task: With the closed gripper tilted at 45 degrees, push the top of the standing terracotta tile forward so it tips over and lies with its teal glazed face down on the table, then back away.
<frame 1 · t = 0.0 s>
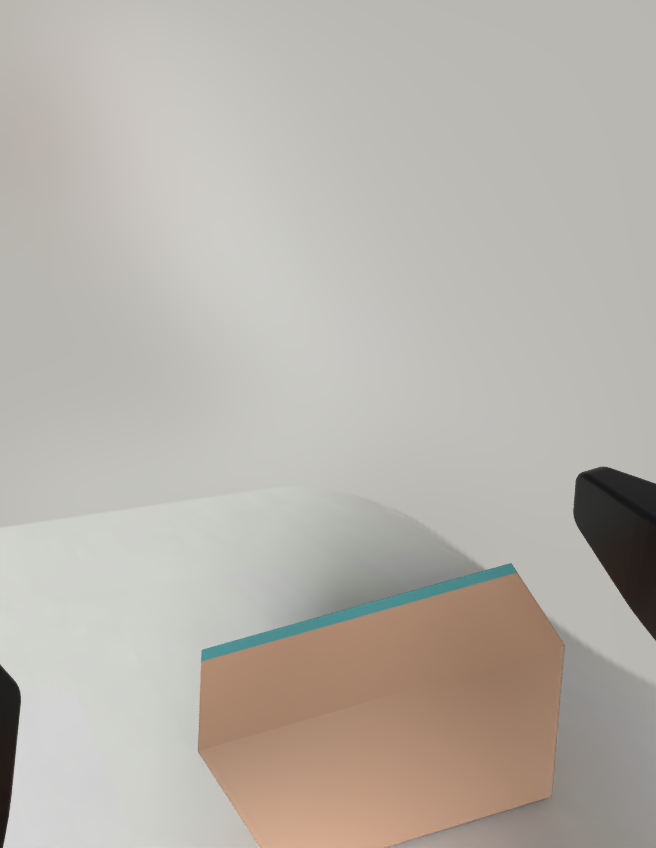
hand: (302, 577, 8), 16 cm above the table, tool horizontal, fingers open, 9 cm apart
tile: (405, 790, 20), on the table
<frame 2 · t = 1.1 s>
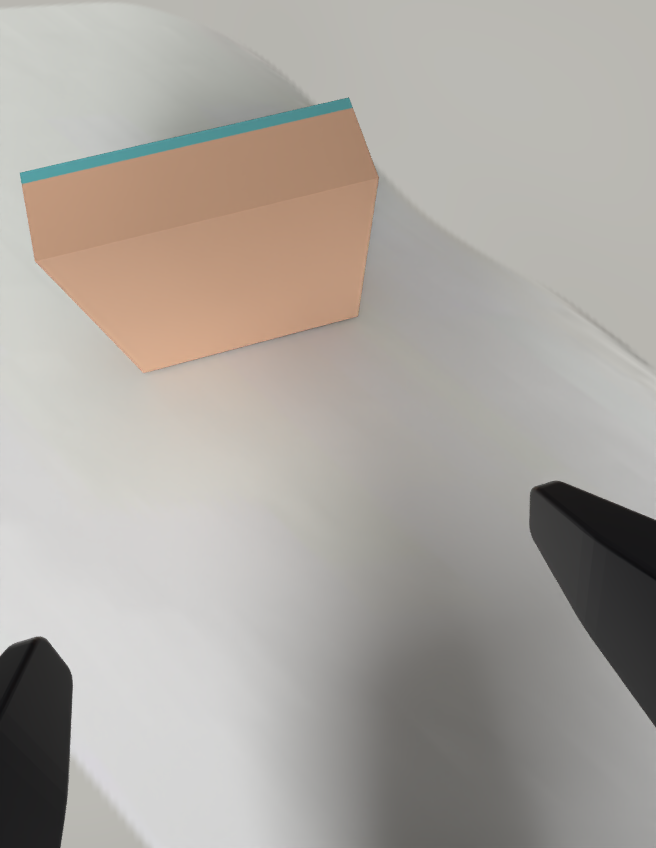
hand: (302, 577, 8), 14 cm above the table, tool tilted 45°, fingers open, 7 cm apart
tile: (244, 315, 24), on the table
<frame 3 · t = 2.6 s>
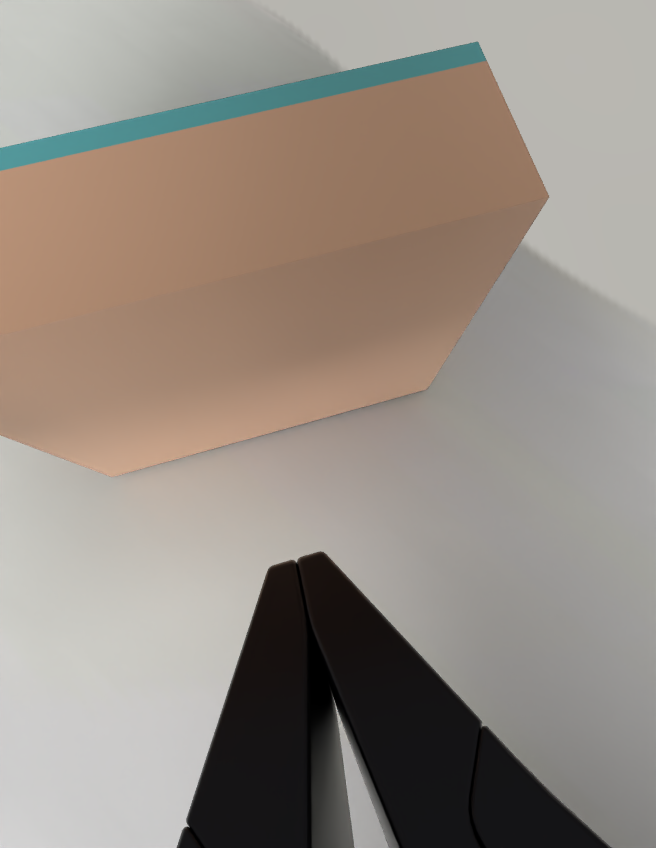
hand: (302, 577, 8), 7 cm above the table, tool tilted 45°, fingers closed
tile: (261, 387, 16), on the table
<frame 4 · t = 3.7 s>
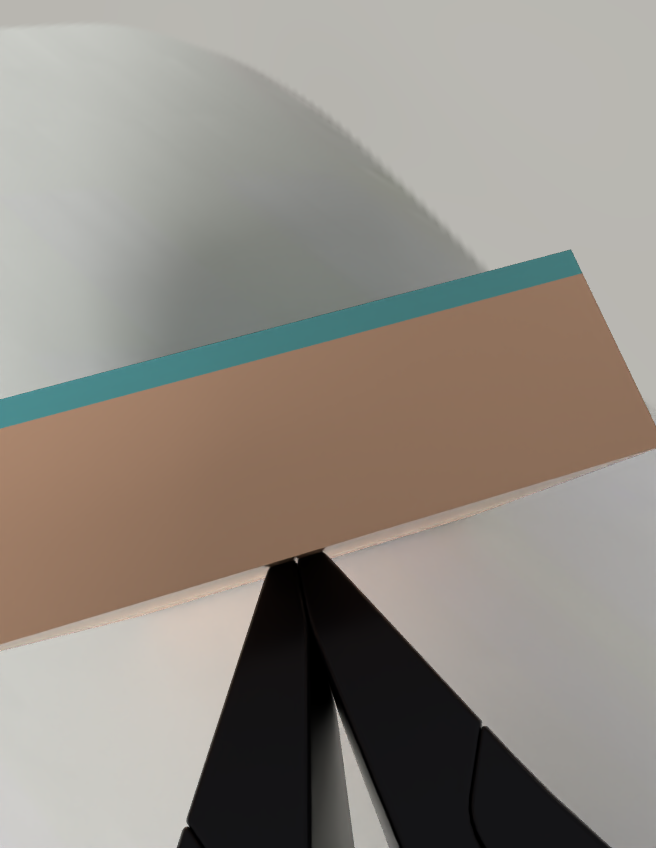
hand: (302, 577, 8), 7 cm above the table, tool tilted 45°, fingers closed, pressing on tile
tile: (296, 514, 15), on the table, touching gripper
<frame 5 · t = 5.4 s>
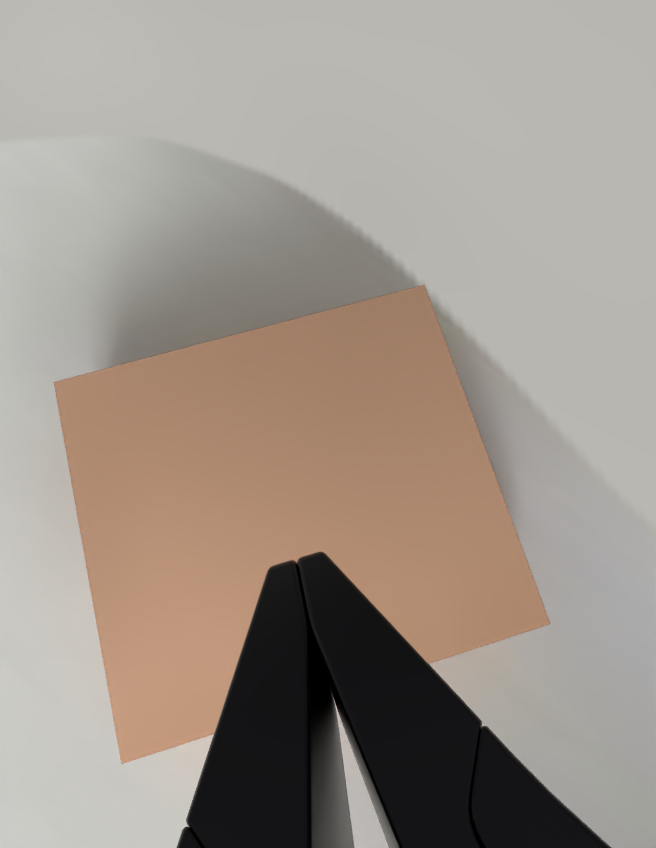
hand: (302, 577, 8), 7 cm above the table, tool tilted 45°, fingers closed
tile: (340, 675, 13), point 1 cm above the table, tilted 90°
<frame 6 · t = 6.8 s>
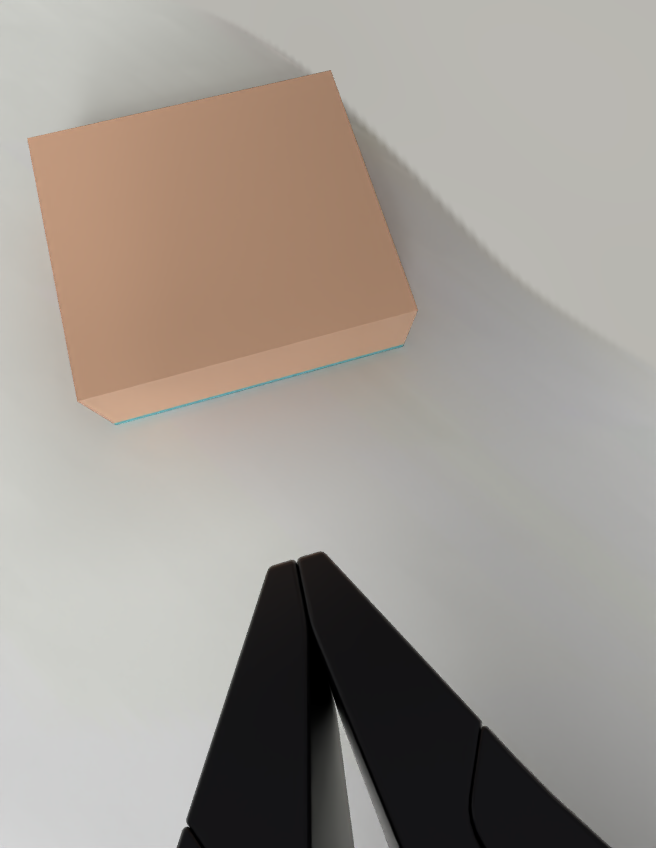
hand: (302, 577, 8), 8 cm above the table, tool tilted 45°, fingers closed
tile: (258, 371, 16), point 1 cm above the table, tilted 90°
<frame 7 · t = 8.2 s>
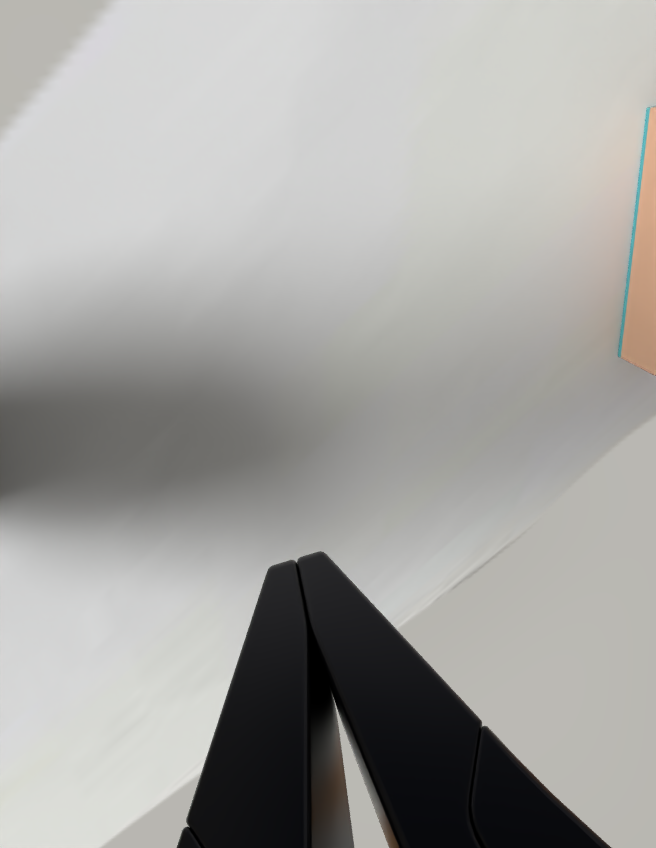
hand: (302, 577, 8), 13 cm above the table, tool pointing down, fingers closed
tile: (654, 253, 20), point 1 cm above the table, tilted 90°
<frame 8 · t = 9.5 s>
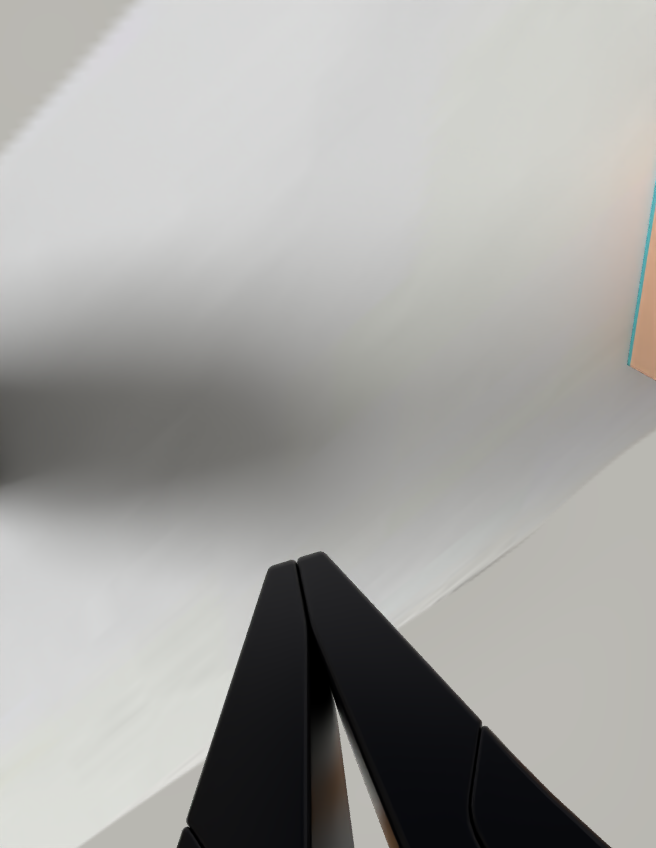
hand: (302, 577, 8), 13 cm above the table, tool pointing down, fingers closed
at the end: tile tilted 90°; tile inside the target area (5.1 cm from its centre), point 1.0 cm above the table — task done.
